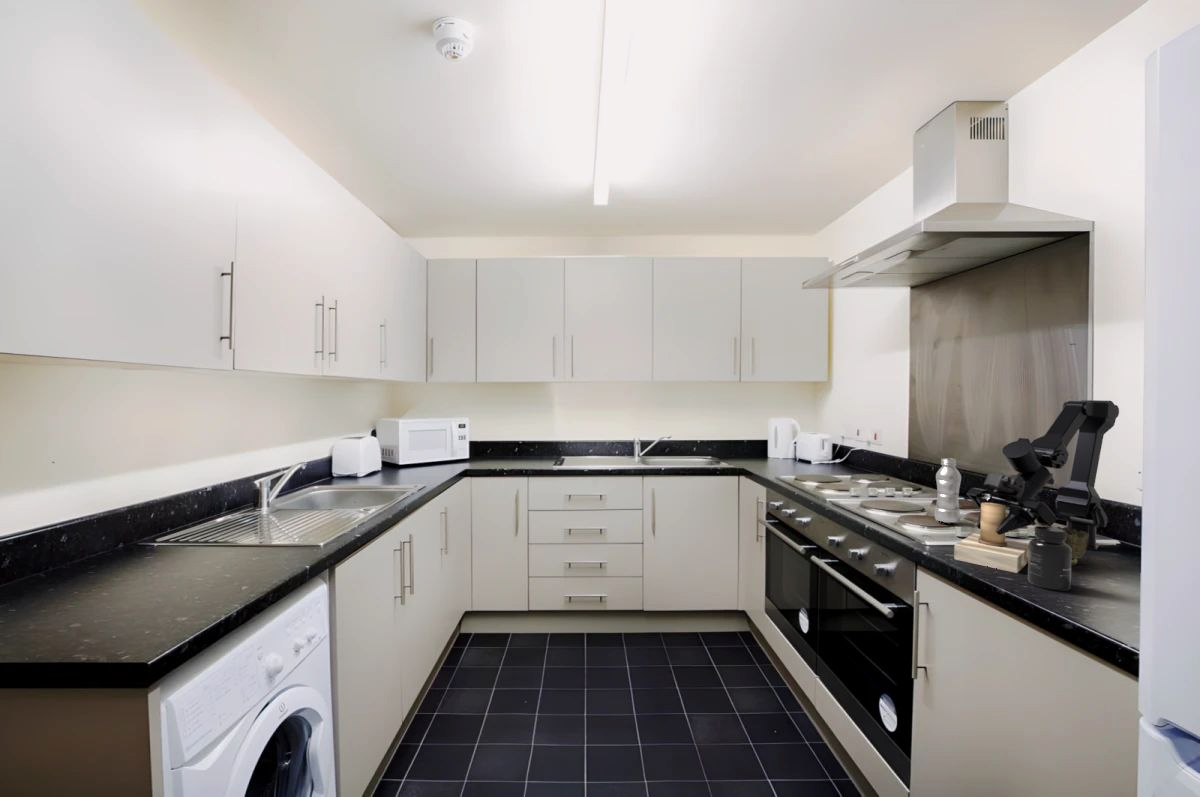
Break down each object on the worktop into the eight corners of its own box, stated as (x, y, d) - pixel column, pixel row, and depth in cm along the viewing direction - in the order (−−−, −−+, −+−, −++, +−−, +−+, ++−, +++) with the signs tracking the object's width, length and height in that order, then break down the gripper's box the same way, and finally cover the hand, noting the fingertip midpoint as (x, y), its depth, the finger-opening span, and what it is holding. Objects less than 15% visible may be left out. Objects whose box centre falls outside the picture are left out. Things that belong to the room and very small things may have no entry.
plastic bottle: (930, 520, 161) (931, 457, 160) (953, 521, 160) (954, 458, 160) (940, 525, 154) (942, 460, 154) (965, 526, 153) (966, 460, 153)
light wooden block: (973, 546, 134) (973, 533, 134) (1032, 558, 125) (1032, 544, 125) (954, 559, 123) (954, 544, 123) (1017, 573, 114) (1017, 557, 114)
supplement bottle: (1074, 594, 102) (1076, 535, 102) (1030, 587, 106) (1032, 530, 106) (1066, 583, 108) (1067, 527, 108) (1024, 577, 112) (1026, 522, 112)
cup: (1070, 558, 125) (1071, 526, 124) (1097, 569, 117) (1098, 534, 117) (1038, 557, 125) (1038, 525, 125) (1062, 568, 118) (1062, 533, 118)
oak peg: (981, 551, 129) (982, 501, 129) (1009, 557, 125) (1010, 505, 124) (974, 556, 125) (976, 504, 125) (1003, 562, 121) (1004, 508, 121)
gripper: (973, 457, 134) (936, 499, 133) (1047, 467, 116) (1005, 517, 114) (998, 486, 136) (961, 528, 134) (1074, 501, 118) (1033, 550, 116)
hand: (987, 530), depth 125 cm, fingers closed on oak peg, 5 cm apart
